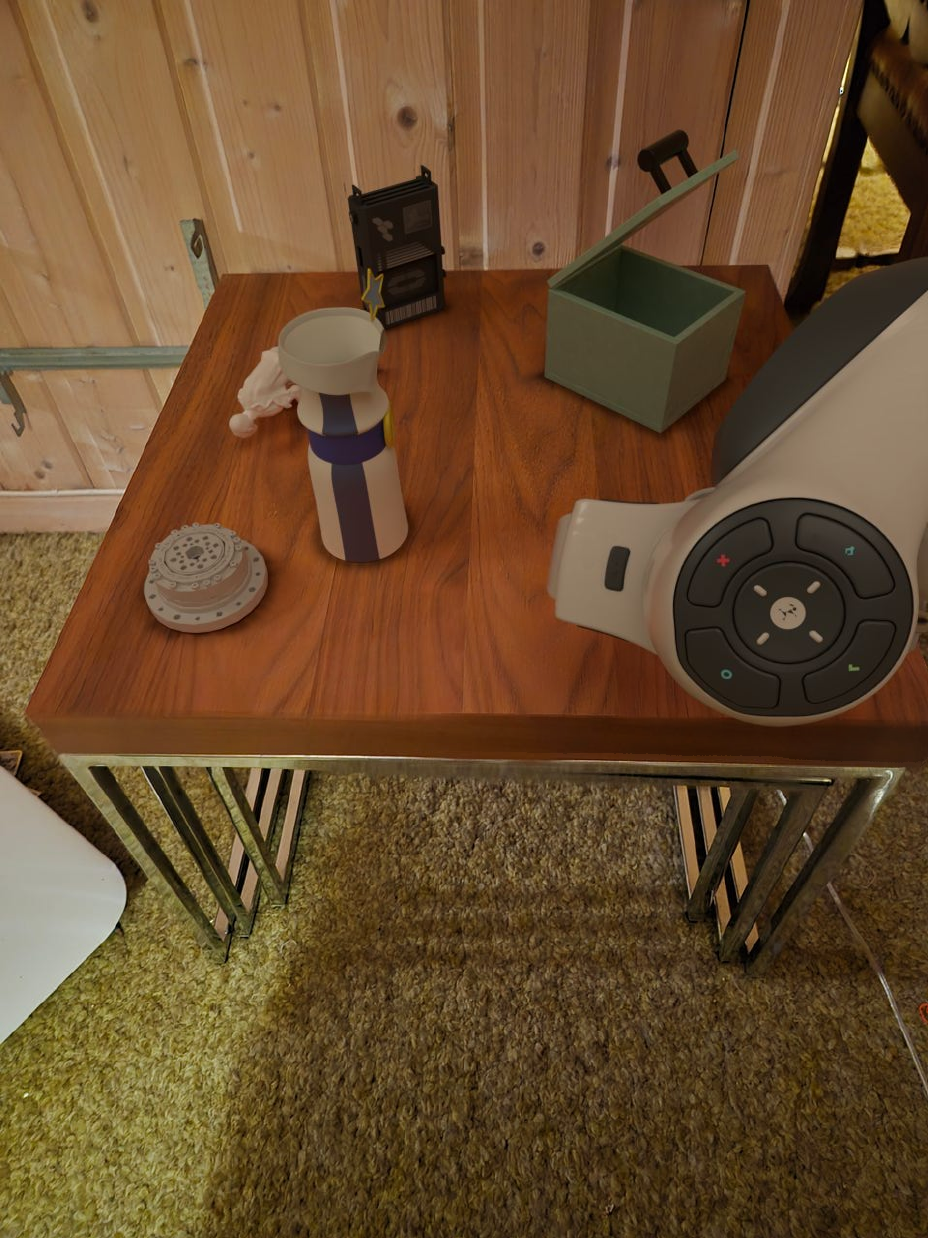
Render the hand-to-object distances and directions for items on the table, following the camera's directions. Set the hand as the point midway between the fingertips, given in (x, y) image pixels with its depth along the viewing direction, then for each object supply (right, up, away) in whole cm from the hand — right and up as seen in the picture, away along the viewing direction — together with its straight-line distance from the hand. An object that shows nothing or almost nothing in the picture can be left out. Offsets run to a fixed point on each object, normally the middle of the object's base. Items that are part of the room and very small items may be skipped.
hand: (715, 580), depth 54 cm
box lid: (0, +33, +22) cm, 40 cm away
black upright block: (-23, +33, +43) cm, 59 cm away
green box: (+1, +23, +33) cm, 40 cm away
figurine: (-33, +19, +32) cm, 50 cm away
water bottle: (-25, +5, +20) cm, 33 cm away
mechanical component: (-38, 0, +16) cm, 41 cm away
